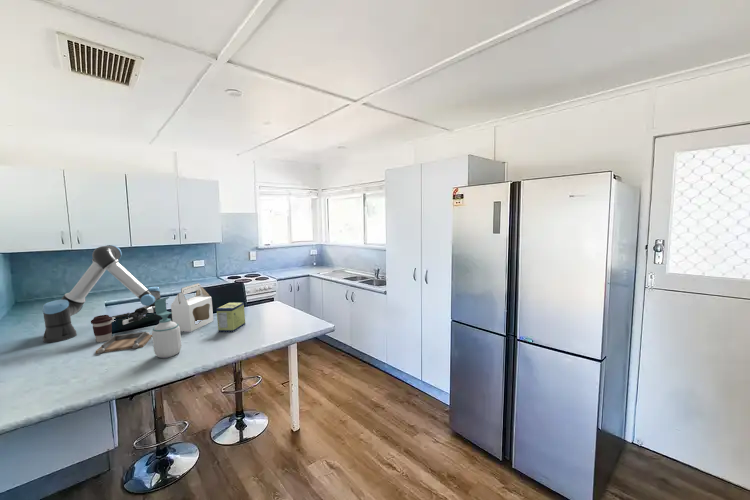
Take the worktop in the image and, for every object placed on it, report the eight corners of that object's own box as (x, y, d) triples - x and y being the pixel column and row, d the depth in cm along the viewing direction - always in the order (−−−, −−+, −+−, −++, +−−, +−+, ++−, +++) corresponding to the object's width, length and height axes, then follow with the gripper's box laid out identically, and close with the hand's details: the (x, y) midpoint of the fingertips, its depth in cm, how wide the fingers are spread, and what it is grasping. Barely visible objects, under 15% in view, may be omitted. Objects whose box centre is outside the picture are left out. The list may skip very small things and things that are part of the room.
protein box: (245, 324, 217) (244, 302, 216) (233, 332, 202) (231, 308, 200) (231, 324, 219) (229, 302, 217) (217, 332, 203) (215, 308, 202)
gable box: (190, 332, 206) (186, 289, 203) (172, 331, 208) (168, 289, 205) (213, 320, 228) (210, 282, 225) (197, 320, 230) (193, 282, 227)
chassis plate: (94, 355, 174) (93, 347, 174) (110, 341, 194) (110, 335, 193) (141, 348, 181) (141, 341, 181) (153, 335, 201) (152, 329, 201)
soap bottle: (161, 361, 163) (155, 301, 160) (150, 356, 170) (143, 298, 166) (186, 352, 174) (181, 296, 170) (174, 348, 180) (169, 293, 177)
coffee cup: (91, 344, 190) (87, 320, 188) (96, 339, 199) (93, 315, 197) (112, 341, 194) (109, 317, 193) (116, 336, 203) (113, 313, 202)
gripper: (159, 318, 221) (131, 328, 200) (128, 317, 225) (98, 327, 205) (158, 307, 220) (130, 317, 199) (127, 306, 225) (96, 316, 204)
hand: (113, 322), depth 202 cm, fingers open, 13 cm apart
